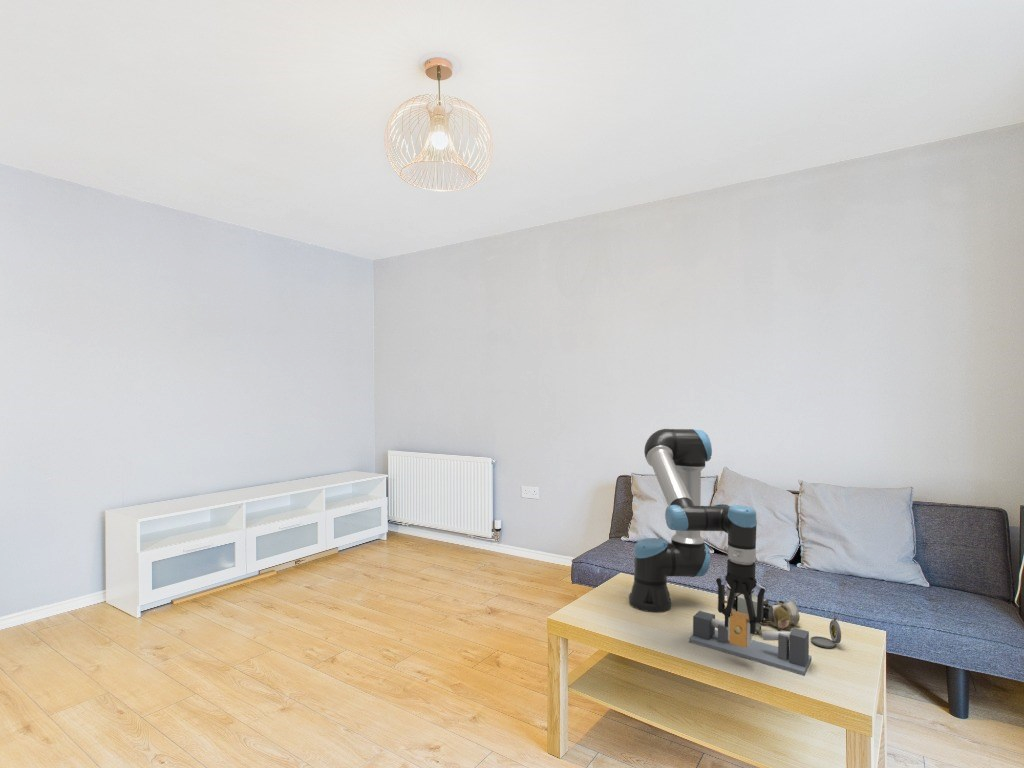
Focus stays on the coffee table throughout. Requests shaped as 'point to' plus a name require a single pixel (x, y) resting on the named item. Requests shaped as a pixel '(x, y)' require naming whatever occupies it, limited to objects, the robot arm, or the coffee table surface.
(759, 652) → the shaft rig
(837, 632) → the pocket watch
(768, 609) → the pneumatic valve
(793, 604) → the ceramic sculpture
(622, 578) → the coffee table surface
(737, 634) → the universal joint coupler
